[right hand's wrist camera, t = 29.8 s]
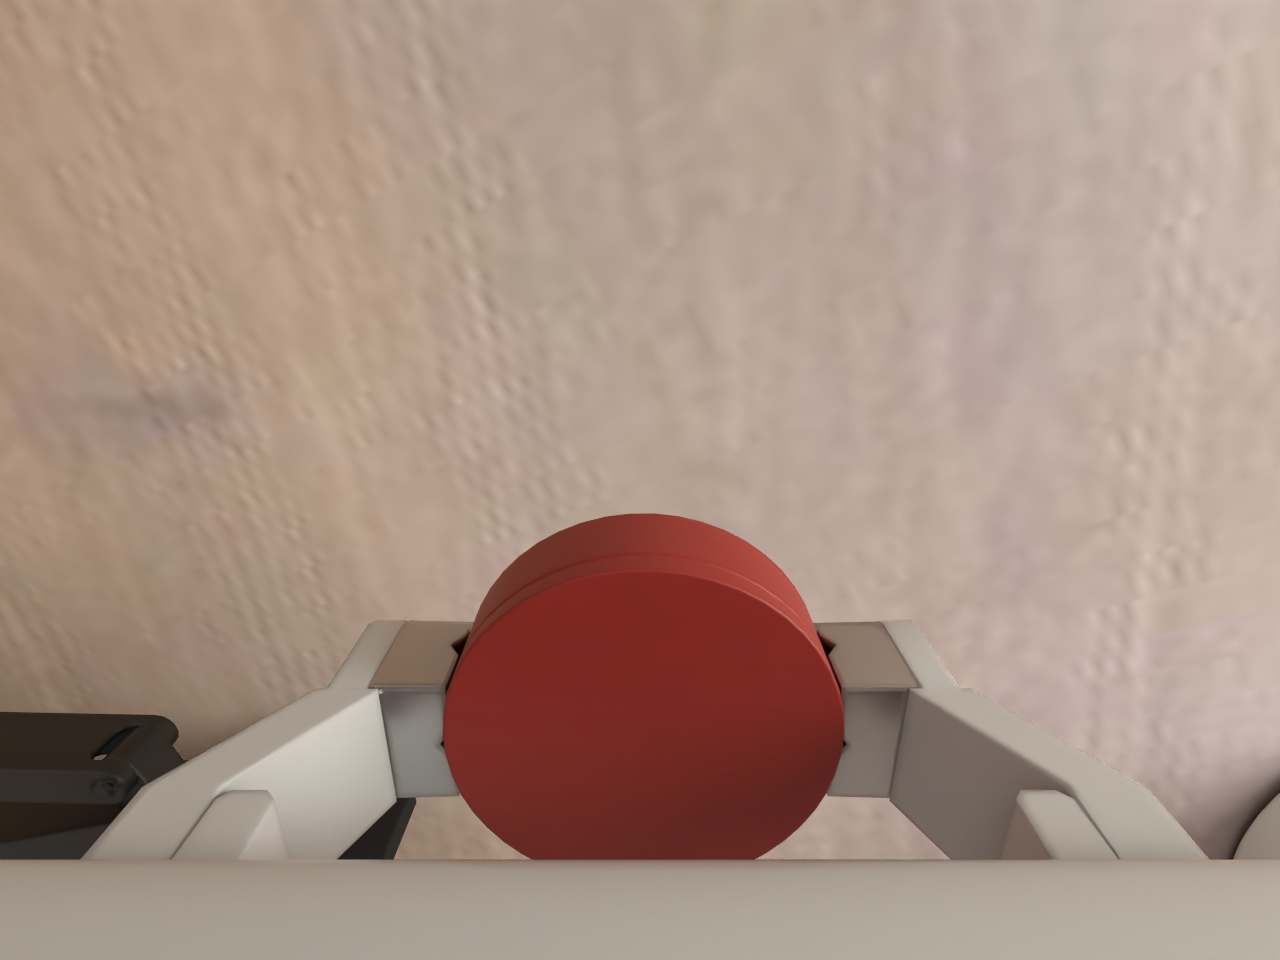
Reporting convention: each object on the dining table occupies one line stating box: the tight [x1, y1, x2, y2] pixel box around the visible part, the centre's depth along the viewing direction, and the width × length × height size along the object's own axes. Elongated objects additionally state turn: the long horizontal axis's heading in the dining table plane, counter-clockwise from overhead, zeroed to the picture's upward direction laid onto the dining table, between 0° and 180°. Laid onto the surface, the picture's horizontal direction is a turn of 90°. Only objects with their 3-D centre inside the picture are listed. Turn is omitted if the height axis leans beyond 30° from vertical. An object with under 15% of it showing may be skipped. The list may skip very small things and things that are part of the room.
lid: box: [443, 514, 845, 860], centre depth 9 cm, size 5×5×2 cm
